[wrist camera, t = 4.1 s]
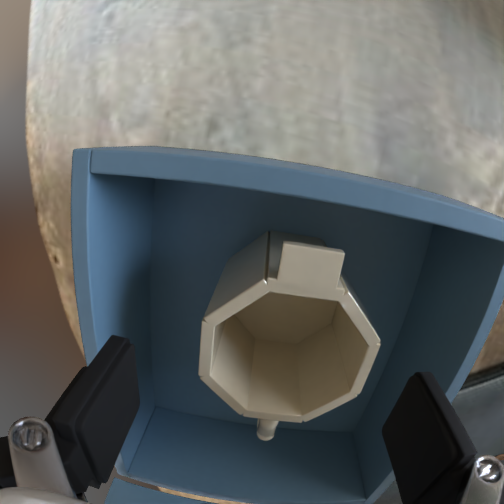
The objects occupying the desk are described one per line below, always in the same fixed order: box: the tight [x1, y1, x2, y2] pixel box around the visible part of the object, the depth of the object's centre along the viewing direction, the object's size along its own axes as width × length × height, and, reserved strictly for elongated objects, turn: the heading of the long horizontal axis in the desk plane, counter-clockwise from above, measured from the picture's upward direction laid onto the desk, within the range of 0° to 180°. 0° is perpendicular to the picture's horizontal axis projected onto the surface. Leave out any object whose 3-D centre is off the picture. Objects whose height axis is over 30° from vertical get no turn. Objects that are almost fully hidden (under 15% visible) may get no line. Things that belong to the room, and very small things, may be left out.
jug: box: [198, 230, 381, 441], centre depth 14 cm, size 10×7×6 cm, turn 172°
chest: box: [71, 146, 504, 504], centre depth 15 cm, size 19×17×7 cm
